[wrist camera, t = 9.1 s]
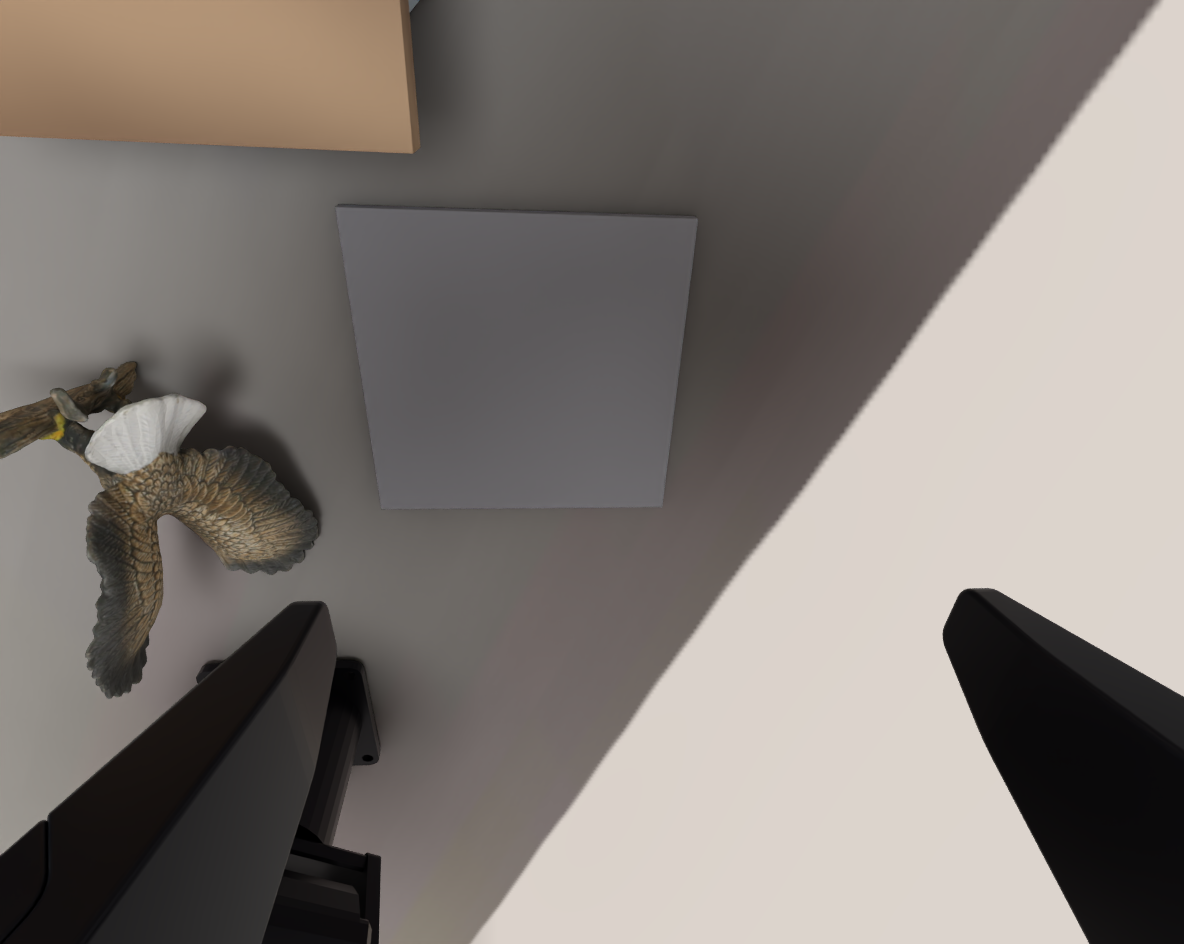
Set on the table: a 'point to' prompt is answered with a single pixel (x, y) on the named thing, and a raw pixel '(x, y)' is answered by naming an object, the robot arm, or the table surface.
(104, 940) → the robot arm
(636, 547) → the table surface
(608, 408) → the mat
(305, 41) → the lid
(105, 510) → the eagle figurine
